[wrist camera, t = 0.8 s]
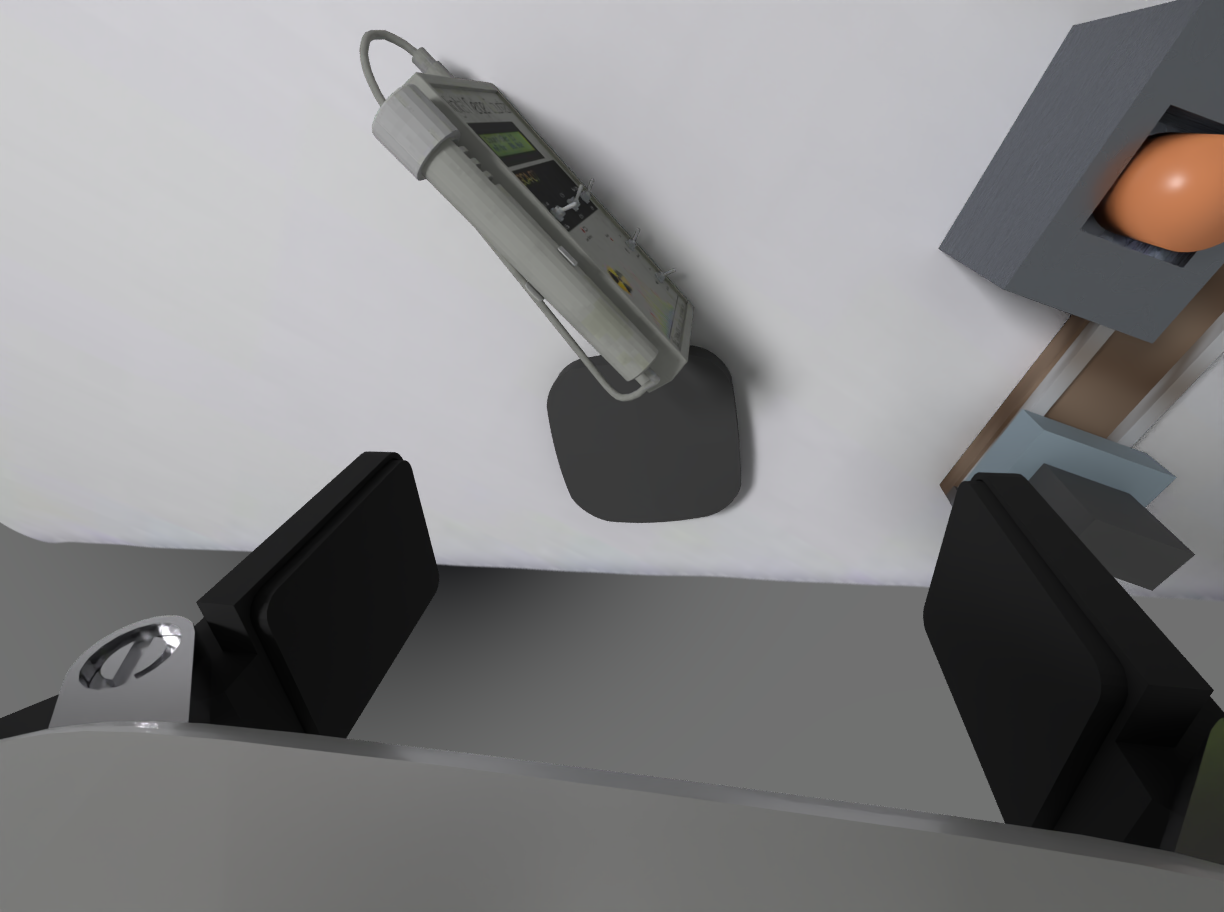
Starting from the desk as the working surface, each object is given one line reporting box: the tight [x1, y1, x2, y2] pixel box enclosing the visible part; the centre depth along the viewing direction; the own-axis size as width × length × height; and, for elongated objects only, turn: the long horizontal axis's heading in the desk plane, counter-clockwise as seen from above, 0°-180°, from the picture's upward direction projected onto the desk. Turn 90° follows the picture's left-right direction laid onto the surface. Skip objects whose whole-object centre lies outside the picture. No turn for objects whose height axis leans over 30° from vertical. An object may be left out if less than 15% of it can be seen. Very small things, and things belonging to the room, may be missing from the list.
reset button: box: [1092, 132, 1224, 252], centre depth 25 cm, size 4×4×4 cm
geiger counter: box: [360, 30, 694, 401], centre depth 33 cm, size 14×6×25 cm
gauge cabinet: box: [939, 0, 1224, 344], centre depth 29 cm, size 12×8×10 cm
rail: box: [940, 264, 1224, 506], centre depth 36 cm, size 27×8×5 cm, turn 163°
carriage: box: [965, 409, 1195, 590], centre depth 36 cm, size 7×9×9 cm
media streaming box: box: [547, 346, 741, 523], centre depth 46 cm, size 15×15×3 cm
